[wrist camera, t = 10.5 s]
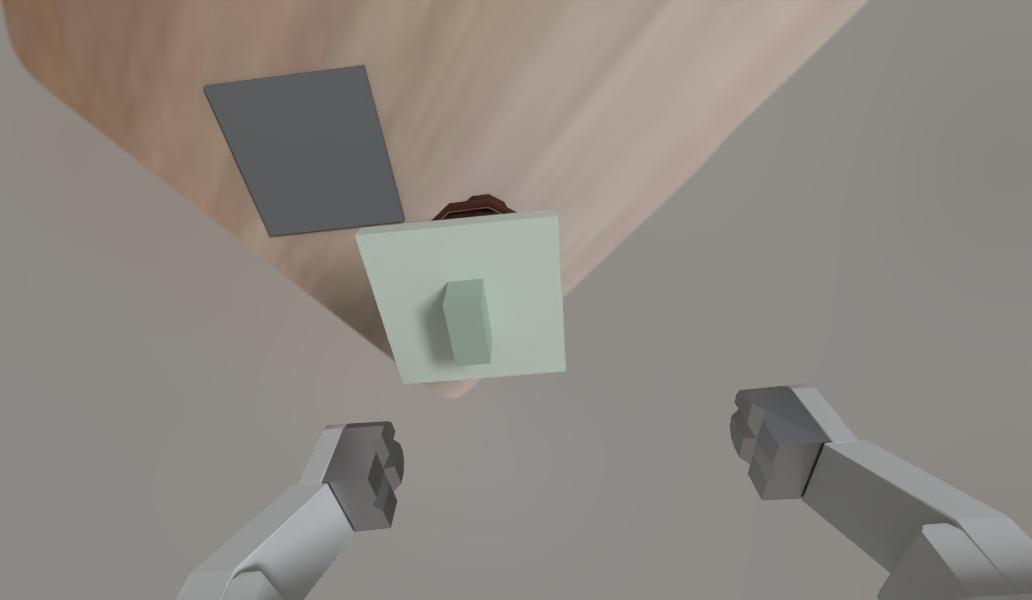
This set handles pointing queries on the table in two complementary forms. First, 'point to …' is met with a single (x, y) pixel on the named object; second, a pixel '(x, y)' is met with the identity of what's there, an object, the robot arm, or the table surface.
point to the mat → (310, 149)
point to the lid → (469, 295)
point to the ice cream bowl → (474, 208)
